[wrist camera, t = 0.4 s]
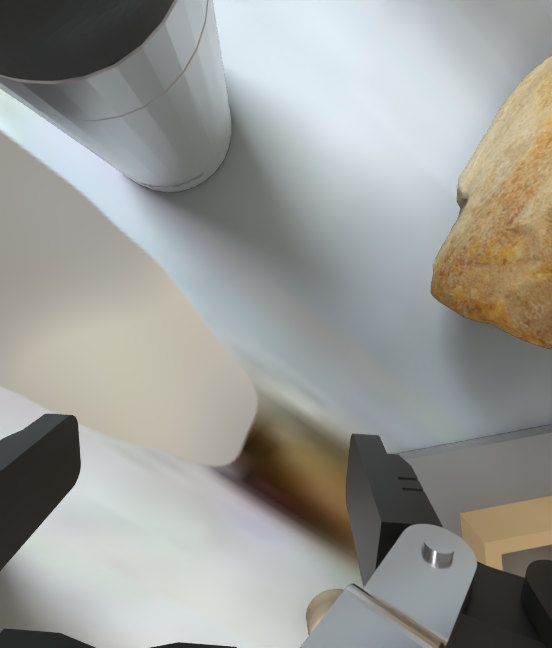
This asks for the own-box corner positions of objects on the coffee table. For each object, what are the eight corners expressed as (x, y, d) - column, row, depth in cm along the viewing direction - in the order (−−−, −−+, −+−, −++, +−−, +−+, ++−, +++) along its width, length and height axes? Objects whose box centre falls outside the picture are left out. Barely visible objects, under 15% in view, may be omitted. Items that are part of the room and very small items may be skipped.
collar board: (380, 456, 32) (401, 488, 28) (611, 413, 33) (669, 437, 28) (408, 658, 36) (431, 717, 31) (618, 616, 36) (672, 667, 31)
